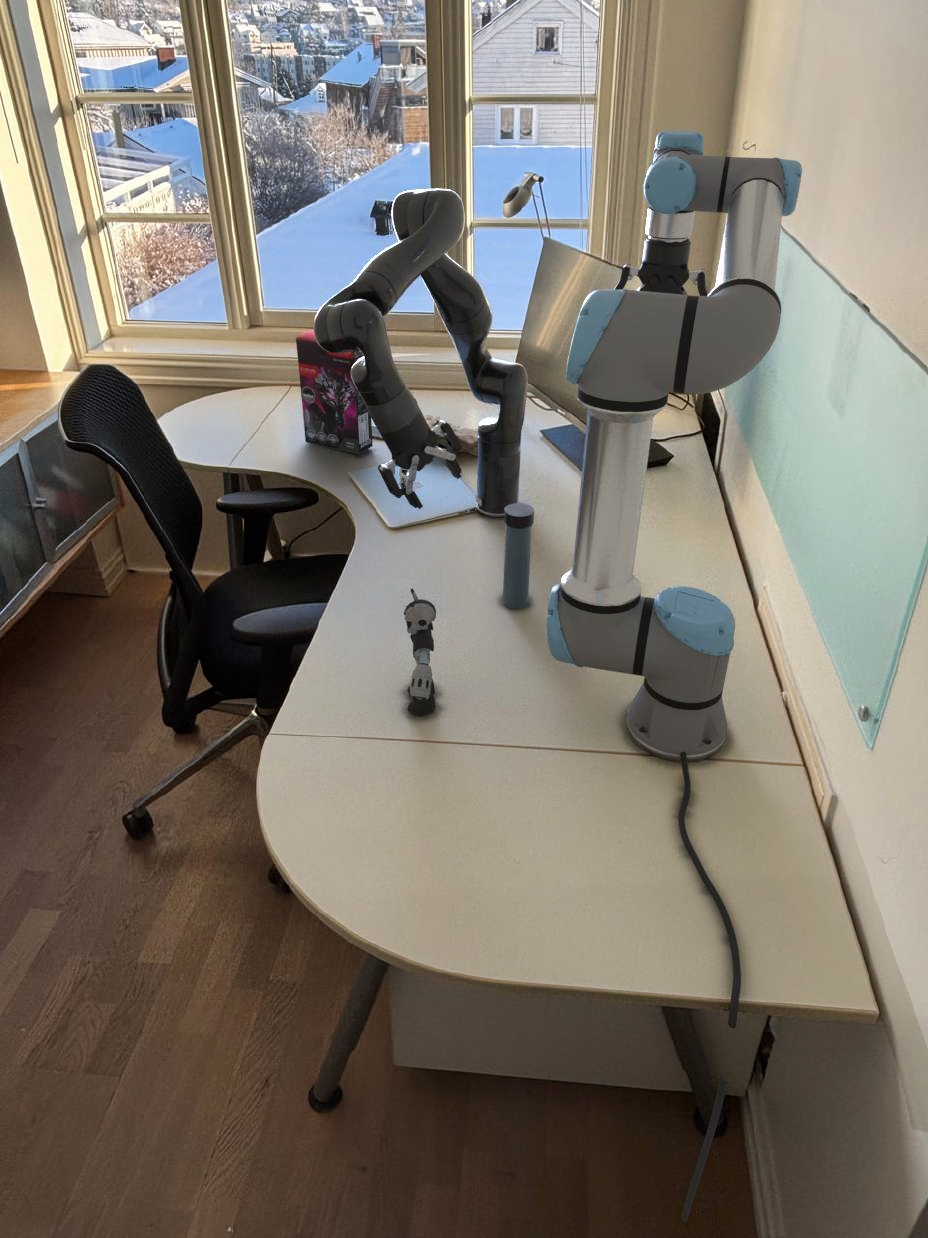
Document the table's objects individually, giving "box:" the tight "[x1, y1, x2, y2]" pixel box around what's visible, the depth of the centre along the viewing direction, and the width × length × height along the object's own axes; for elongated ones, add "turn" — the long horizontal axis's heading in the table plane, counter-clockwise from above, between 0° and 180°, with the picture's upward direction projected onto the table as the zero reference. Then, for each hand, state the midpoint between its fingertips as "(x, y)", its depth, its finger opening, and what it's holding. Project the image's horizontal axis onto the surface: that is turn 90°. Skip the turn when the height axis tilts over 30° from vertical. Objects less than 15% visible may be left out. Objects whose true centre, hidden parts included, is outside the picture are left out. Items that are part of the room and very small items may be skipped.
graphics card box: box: [295, 329, 374, 455], centre depth 226 cm, size 17×7×27 cm, turn 62°
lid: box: [503, 502, 535, 528], centre depth 163 cm, size 5×5×2 cm
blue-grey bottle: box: [502, 523, 533, 610], centre depth 168 cm, size 5×5×19 cm
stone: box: [423, 414, 478, 457], centre depth 232 cm, size 21×15×6 cm
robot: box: [403, 588, 437, 717], centre depth 143 cm, size 20×5×20 cm, turn 3°
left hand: (438, 491), depth 157 cm, fingers open, 8 cm apart
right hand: (652, 364), depth 163 cm, fingers open, 13 cm apart
